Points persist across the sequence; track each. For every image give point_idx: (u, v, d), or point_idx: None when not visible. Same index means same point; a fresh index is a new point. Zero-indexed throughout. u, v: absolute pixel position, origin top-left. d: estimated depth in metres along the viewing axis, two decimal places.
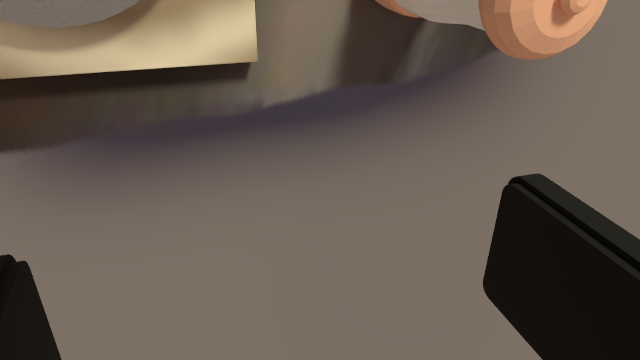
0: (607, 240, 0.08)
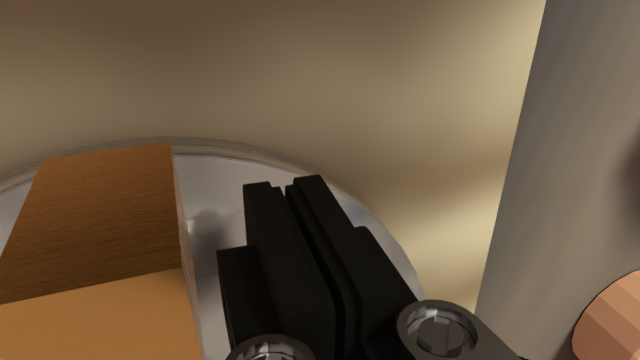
0: (332, 241, 0.08)
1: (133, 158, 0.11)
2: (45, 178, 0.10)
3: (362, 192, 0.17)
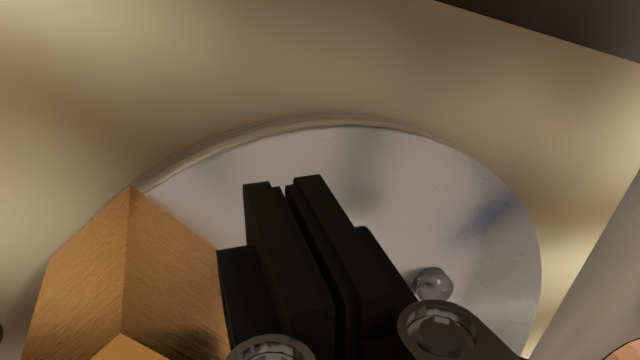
0: (332, 241, 0.08)
1: (103, 221, 0.11)
2: (48, 278, 0.11)
3: None
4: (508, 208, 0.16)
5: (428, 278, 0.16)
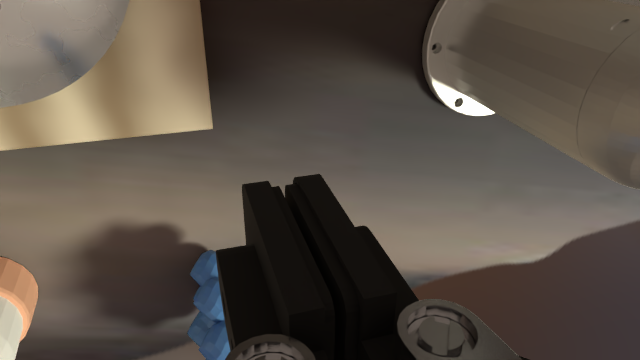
0: (332, 241, 0.08)
1: None
2: None
3: None
4: None
5: None
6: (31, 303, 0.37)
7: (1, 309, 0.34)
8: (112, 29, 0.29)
